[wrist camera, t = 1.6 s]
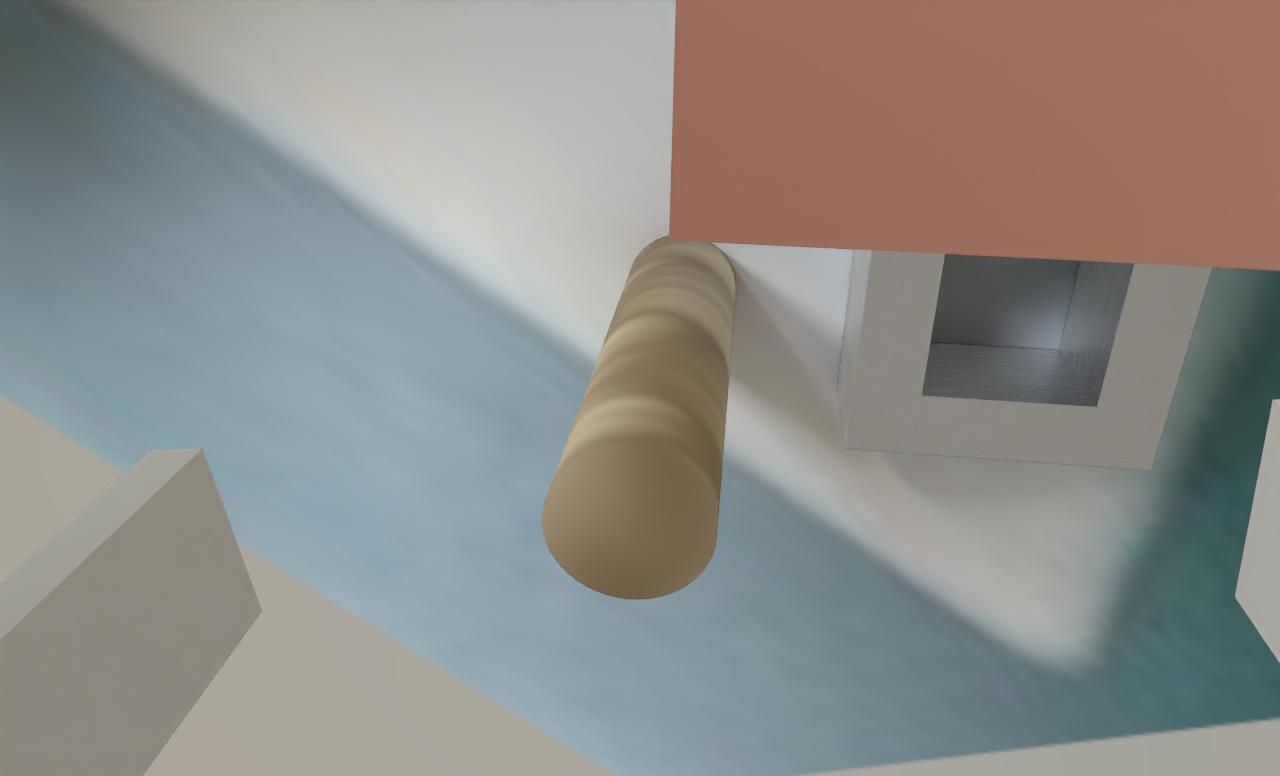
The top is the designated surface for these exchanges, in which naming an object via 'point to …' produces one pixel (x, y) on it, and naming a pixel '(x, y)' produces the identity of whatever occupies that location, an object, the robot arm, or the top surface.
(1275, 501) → the robot arm
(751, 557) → the top surface
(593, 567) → the peg
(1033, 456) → the socket
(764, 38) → the pink-topped stool
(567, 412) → the top surface
